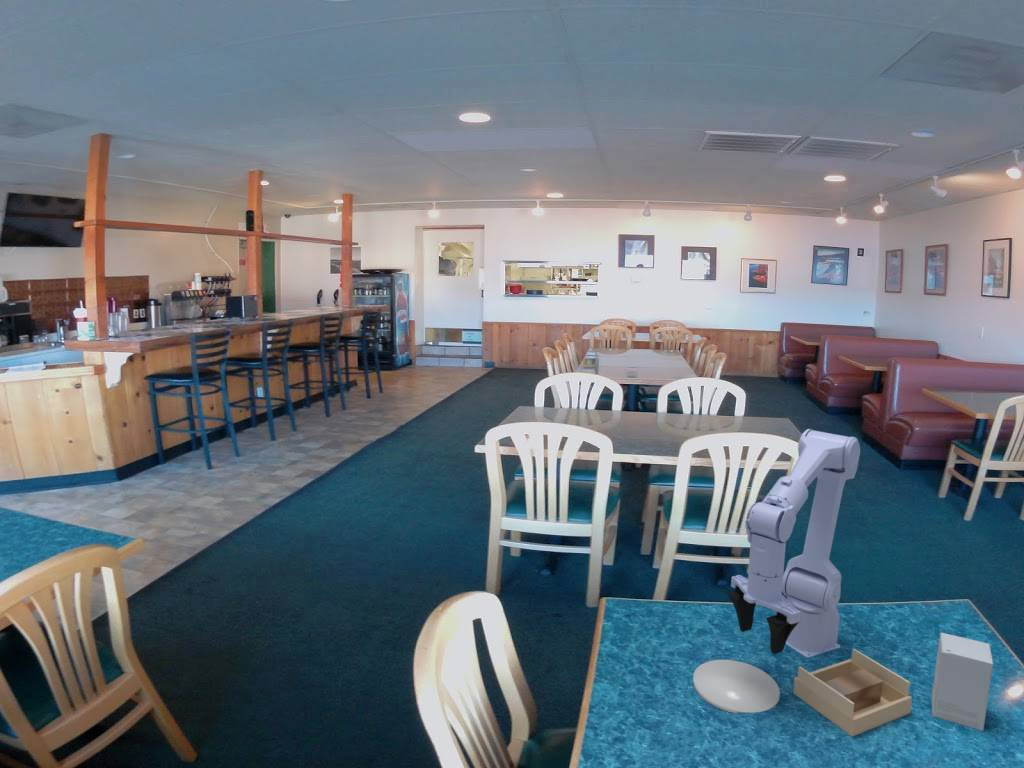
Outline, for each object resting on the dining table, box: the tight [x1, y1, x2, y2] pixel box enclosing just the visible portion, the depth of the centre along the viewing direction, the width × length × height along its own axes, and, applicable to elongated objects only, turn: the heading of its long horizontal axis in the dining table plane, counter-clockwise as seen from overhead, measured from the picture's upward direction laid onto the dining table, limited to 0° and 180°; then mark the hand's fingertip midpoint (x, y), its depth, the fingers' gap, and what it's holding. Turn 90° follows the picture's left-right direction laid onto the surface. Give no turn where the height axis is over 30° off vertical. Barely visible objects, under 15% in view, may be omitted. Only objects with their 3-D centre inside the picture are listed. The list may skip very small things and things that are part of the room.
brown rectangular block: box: [824, 669, 883, 712], centre depth 116 cm, size 10×4×4 cm, turn 114°
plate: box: [692, 659, 781, 715], centre depth 121 cm, size 15×15×1 cm
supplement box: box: [931, 632, 994, 731], centre depth 113 cm, size 7×7×13 cm
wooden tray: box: [792, 648, 913, 737], centre depth 116 cm, size 14×12×6 cm
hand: (760, 640), depth 119 cm, fingers open, 7 cm apart
